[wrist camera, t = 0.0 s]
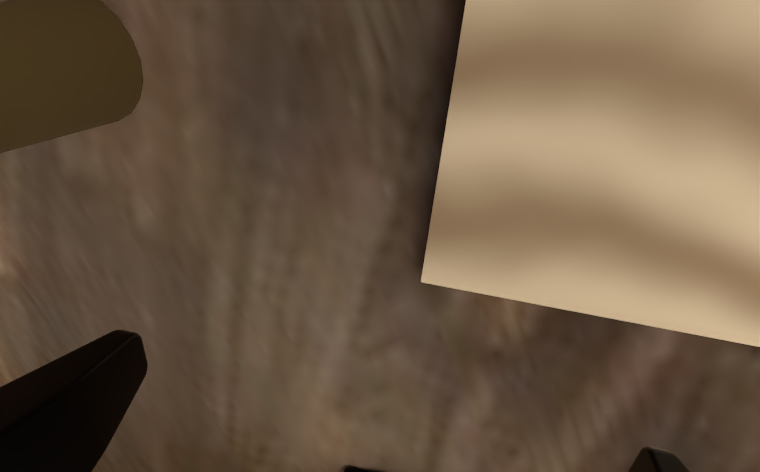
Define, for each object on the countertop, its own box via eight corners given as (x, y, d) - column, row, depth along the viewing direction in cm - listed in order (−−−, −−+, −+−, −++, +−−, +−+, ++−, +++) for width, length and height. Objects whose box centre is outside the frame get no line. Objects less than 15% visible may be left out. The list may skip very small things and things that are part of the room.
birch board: (766, 332, 23) (778, 350, 22) (423, 268, 25) (420, 282, 24) (1168, -266, 12) (1228, -283, 11) (514, -294, 14) (515, -310, 13)
